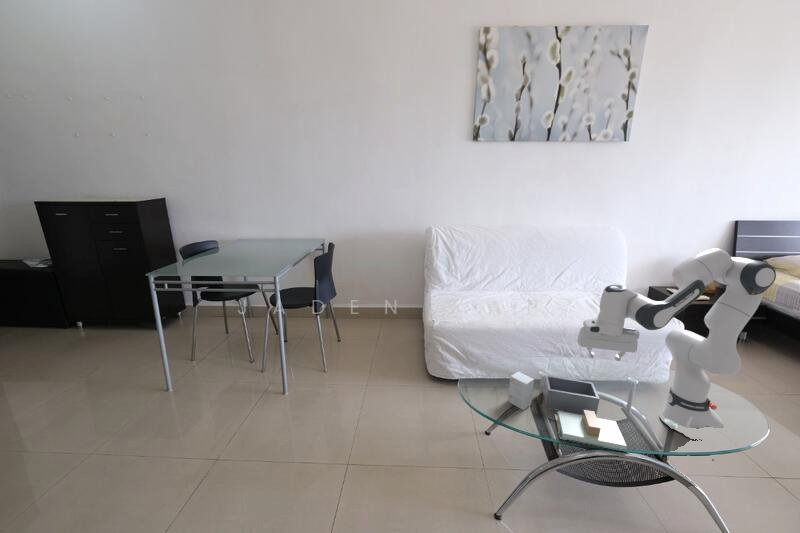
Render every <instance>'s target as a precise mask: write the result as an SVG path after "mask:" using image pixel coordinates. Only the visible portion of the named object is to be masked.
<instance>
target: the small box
mask: <svg viewBox="0 0 800 533" xmlns="http://www.w3.org/2000/svg"><path fill="white" fill-rule="evenodd" d="M508 385H509V388H508V392H507V393H508V395H507V402H508V403H510V404H512V405H514V406H515V407H517V408H519V409H520V410H522V411H524V410H526V409H528V407H530V406H531V405H532V400H533V398H532V397H533V394H534V393H533V392H534V385H535V378H532V377H531V376H529V375H526V374H525V373H523V372H521V371H517V372H515V373H513V374H512V375H510V379H509V384H508Z"/></svg>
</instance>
